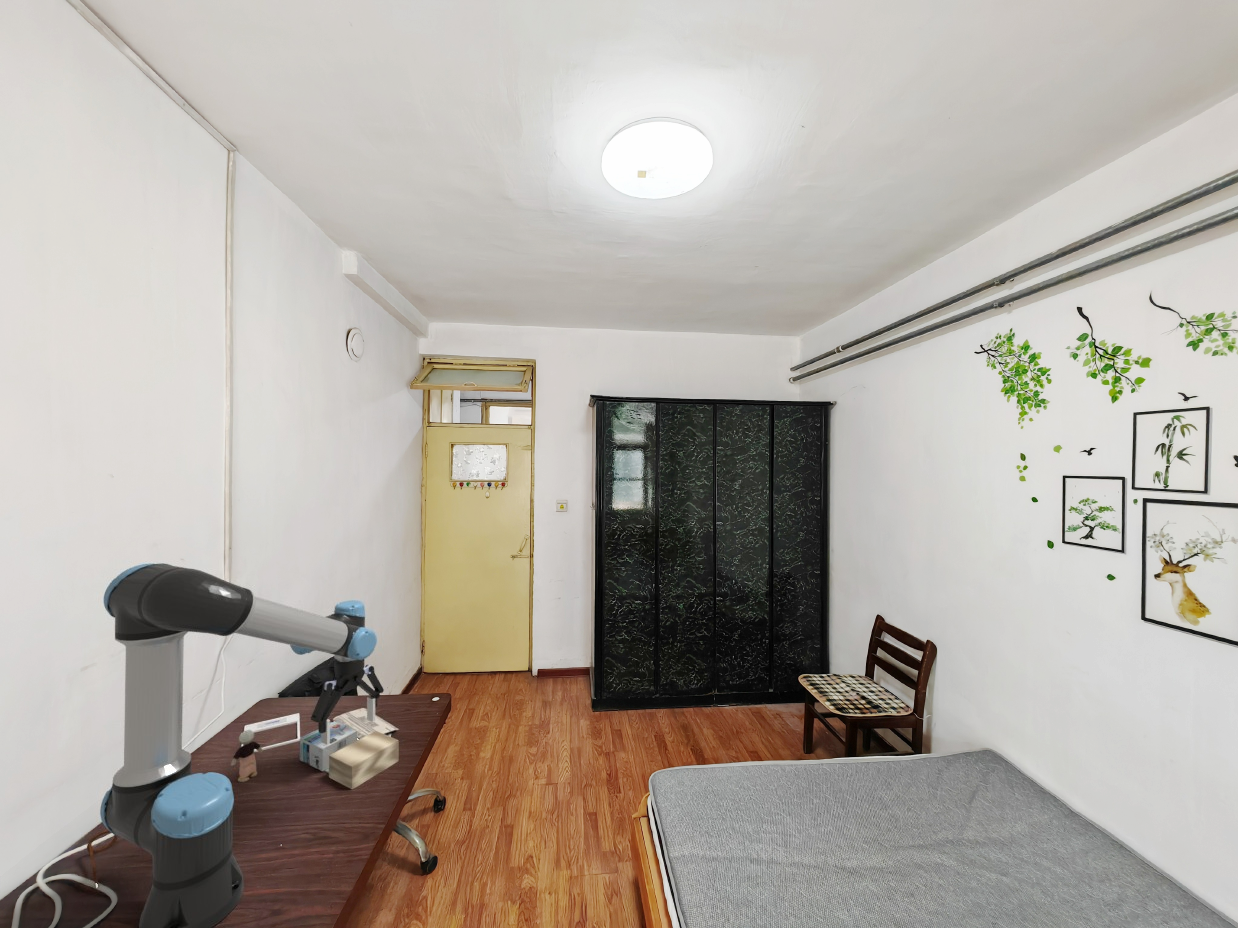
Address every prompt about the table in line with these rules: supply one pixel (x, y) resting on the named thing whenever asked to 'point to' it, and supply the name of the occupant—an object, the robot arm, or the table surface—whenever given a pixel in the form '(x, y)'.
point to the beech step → (363, 759)
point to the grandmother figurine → (246, 756)
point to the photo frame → (273, 724)
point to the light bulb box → (318, 751)
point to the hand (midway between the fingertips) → (349, 730)
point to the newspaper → (364, 723)
